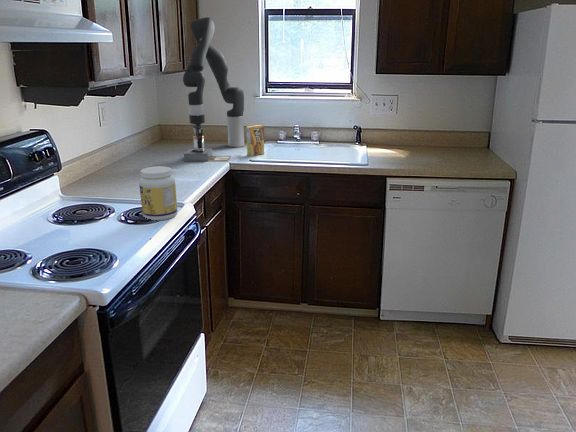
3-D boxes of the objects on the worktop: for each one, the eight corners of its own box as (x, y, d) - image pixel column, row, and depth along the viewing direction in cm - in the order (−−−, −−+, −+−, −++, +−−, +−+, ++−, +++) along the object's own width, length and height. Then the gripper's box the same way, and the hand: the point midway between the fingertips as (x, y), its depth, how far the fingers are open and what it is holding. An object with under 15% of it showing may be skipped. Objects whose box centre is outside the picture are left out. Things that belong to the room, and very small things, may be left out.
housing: (189, 156, 273) (189, 148, 272) (212, 156, 273) (211, 148, 271) (184, 161, 262) (183, 153, 261) (208, 161, 261) (207, 153, 260)
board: (190, 157, 274) (190, 155, 274) (231, 157, 273) (231, 155, 272) (184, 163, 262) (184, 161, 261) (227, 163, 261) (227, 161, 260)
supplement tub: (135, 217, 184) (130, 170, 178) (163, 208, 193) (158, 163, 187) (157, 224, 177) (152, 175, 171) (185, 214, 186) (181, 168, 180)
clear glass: (193, 156, 268) (192, 135, 265) (204, 155, 270) (202, 134, 266) (195, 159, 264) (193, 137, 260) (206, 158, 265) (204, 136, 262)
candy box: (260, 152, 284) (259, 124, 279) (264, 153, 281) (264, 125, 276) (246, 155, 279) (245, 126, 274) (251, 156, 276) (250, 127, 271)
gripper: (187, 112, 265) (189, 145, 270) (191, 115, 252) (193, 150, 257) (201, 111, 267) (204, 144, 273) (206, 115, 254) (209, 149, 260)
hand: (199, 147), depth 265 cm, fingers closed on clear glass, 5 cm apart
